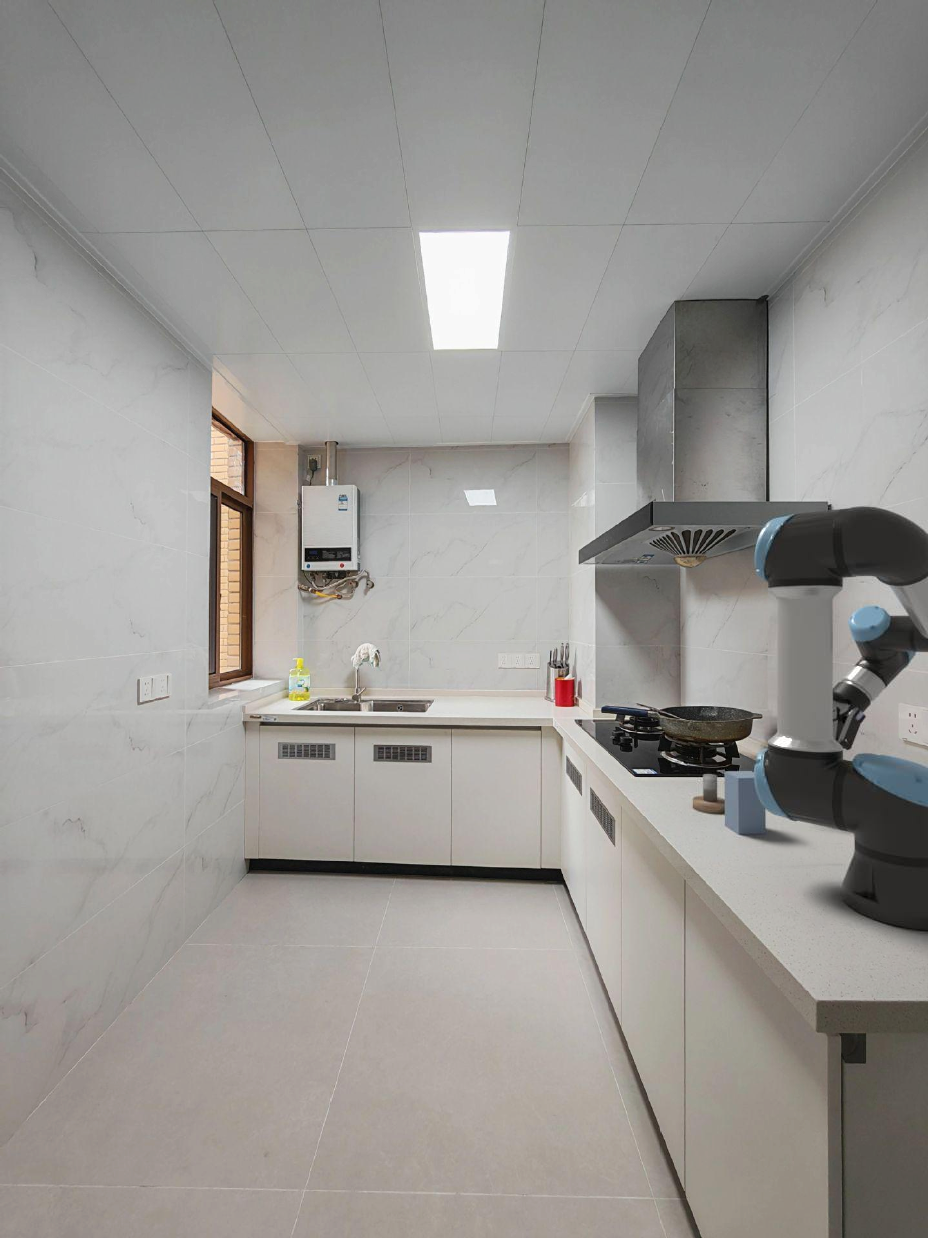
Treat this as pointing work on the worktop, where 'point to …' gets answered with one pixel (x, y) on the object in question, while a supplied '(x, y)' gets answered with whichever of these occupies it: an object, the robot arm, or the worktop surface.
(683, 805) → the worktop surface
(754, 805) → the upright blue pillar
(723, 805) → the post stand
